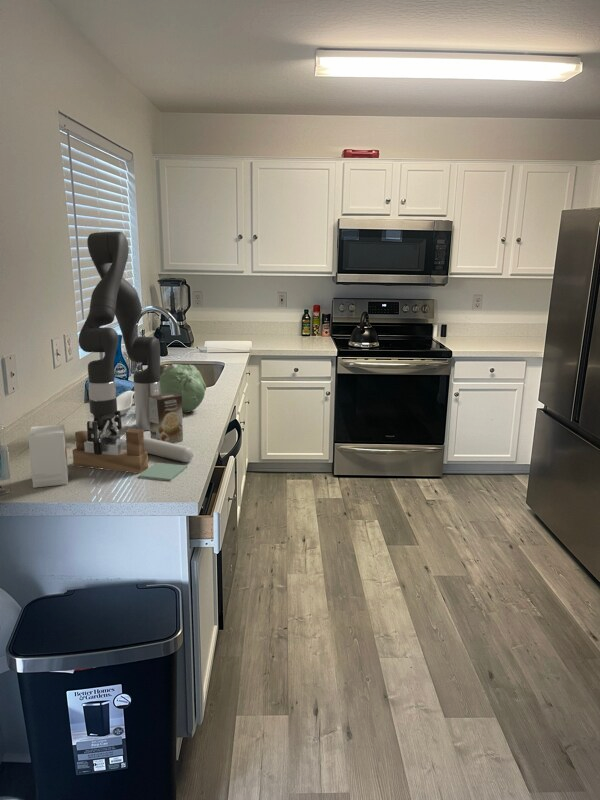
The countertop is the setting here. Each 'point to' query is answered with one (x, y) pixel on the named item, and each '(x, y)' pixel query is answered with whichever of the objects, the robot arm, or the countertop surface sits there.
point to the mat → (162, 471)
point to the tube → (168, 450)
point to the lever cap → (108, 445)
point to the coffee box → (166, 417)
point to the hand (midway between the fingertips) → (106, 449)
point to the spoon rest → (125, 402)
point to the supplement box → (48, 455)
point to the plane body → (127, 461)
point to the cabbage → (183, 384)
